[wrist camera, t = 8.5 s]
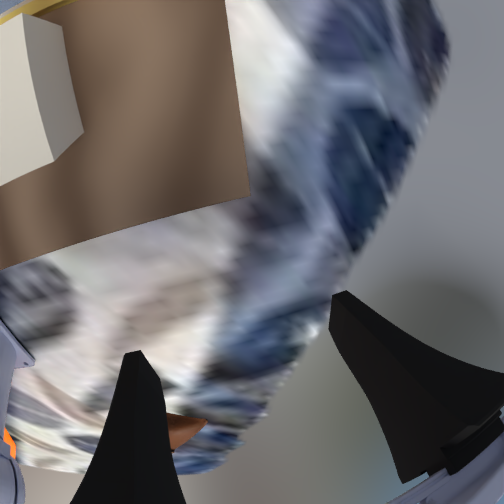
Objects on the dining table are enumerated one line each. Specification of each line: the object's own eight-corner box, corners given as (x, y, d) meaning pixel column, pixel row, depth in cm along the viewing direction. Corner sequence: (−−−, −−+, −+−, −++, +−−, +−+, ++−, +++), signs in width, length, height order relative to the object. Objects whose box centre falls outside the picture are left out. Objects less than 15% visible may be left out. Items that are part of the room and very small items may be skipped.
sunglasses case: (152, 458, 39) (138, 487, 32) (116, 434, 38) (99, 462, 32) (212, 418, 34) (198, 457, 27) (166, 386, 33) (145, 423, 27)
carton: (21, 158, 12) (-21, 197, 8) (-4, 55, 8) (-57, 60, 4) (84, 132, 12) (54, 161, 9) (61, 22, 9) (21, 7, 5)
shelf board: (-3, 267, 15) (-11, 281, 14) (-71, 77, 6) (-85, 81, 5) (247, 191, 18) (255, 203, 17) (215, -44, 9) (221, -54, 8)
